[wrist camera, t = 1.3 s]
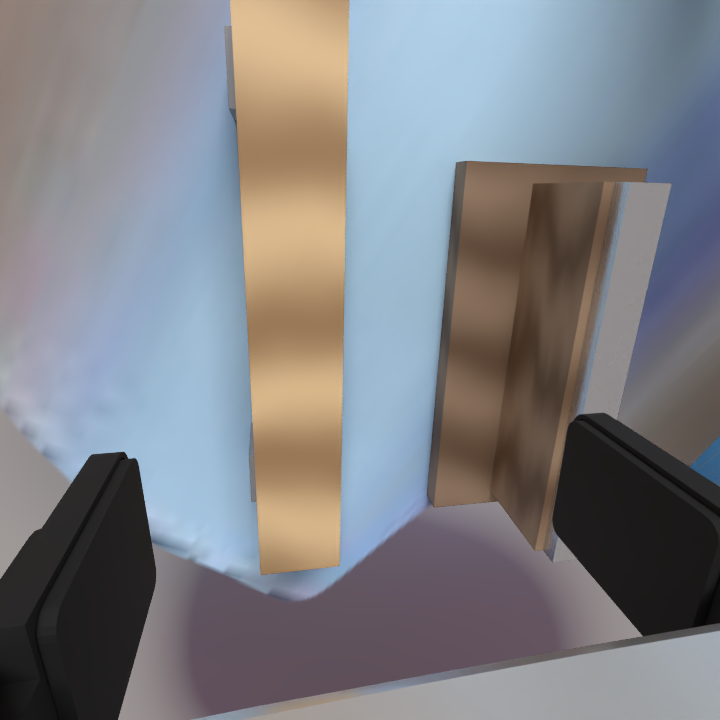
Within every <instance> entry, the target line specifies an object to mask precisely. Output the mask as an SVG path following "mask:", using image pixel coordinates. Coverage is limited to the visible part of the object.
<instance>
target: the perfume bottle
mask: <svg viewBox="0 0 720 720" xmlns="http://www.w3.org/2000/svg"><path fill="white" fill-rule="evenodd" d="M690 468H692V469H693V470H695V471H696V472H698V473H699V474H701V475H702V476H704V477H706V478H707V479H709V480H710V481H712V482H713V483H715V484H716V485H718V486H719V487H720V436H719V437H718V438H717V439H716V440H715V441H714V443H713V444H712V445H711V446H710V447H709V448H708V449H707V450H706V451H705V452H704V453H703V454H702V455H701V456H700V457H699V458H698V459H697V460H696V461H695V462H694V463H693V464H692V465H691V466H690Z"/></svg>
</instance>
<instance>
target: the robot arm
mask: <svg viewBox="0 0 720 720" xmlns="http://www.w3.org/2000/svg"><path fill="white" fill-rule="evenodd" d="M552 523H553V528H554V531H555V533H556V534H557V536H558V537H559V538H560V539H561V541H562V542H563V543H564V544H565V545H566V546H567V548H568V549H569V550H570V551H571V552H572V553H573V555H574V556H575V557H576V558H577V559H578V560H579V562H580V563H581V564H582V565H583V566H584V567H585V569H586V570H587V571H588V572H589V573H590V574H591V576H592V577H593V578H594V579H595V580H596V582H597V583H598V584H599V585H600V586H601V587H602V589H603V590H604V591H605V592H606V593H607V594H608V596H609V597H610V598H611V599H612V600H613V602H614V603H615V604H616V605H617V606H618V607H619V608H620V610H621V611H622V612H623V613H624V614H625V616H626V617H627V618H628V619H629V620H630V621H631V623H632V624H633V625H634V626H635V627H636V628H637V630H638V631H639V632H640V633H641V634H642V635H643V637H637V638H631V639H625V640H619V641H613V642H608V643H602V644H596V645H591V646H585V647H580V648H574V649H568V650H562V651H557V652H551V653H546V654H540V655H534V656H529V657H523V658H518V659H512V660H507V661H501V662H495V663H490V664H484V665H479V666H473V667H468V668H463V669H456V670H451V671H445V672H440V673H434V674H429V675H424V676H418V677H412V678H407V679H402V680H397V681H391V682H386V683H381V684H375V685H370V686H364V687H359V688H353V689H348V690H342V691H338V692H332V693H326V694H321V695H316V696H311V697H305V698H300V699H295V700H289V701H284V702H278V703H272V704H267V705H262V706H256V707H251V708H247V709H242V710H237V711H232V712H227V713H222V714H217V715H212V716H207V717H202V718H197V719H192V720H720V487H719V486H718V485H716V484H715V483H713V482H712V481H710V480H709V479H707V478H706V477H704V476H702V475H701V474H699V473H698V472H696V471H695V470H693V469H692V468H690V467H688V466H687V465H685V464H684V463H682V462H681V461H679V460H678V459H676V458H675V457H673V456H671V455H670V454H668V453H667V452H665V451H664V450H662V449H661V448H659V447H658V446H656V445H654V444H653V443H651V442H650V441H648V440H647V439H645V438H644V437H642V436H641V435H639V434H637V433H636V432H634V431H633V430H631V429H630V428H628V427H627V426H625V425H623V424H622V423H620V422H619V421H617V420H616V419H614V418H613V417H611V416H610V415H608V414H606V413H591V414H579V415H578V416H576V418H575V419H574V421H572V422H571V423H570V424H569V426H568V429H567V435H566V441H565V447H564V453H563V458H562V464H561V470H560V476H559V482H558V488H557V494H556V499H555V505H554V511H553V517H552ZM155 582H156V567H155V560H154V555H153V549H152V542H151V537H150V531H149V525H148V519H147V513H146V507H145V501H144V495H143V489H142V483H141V477H140V471H139V465H138V462H137V460H136V459H135V458H133V459H128V457H127V455H126V453H125V452H116V453H104V454H93V455H91V456H90V457H89V458H88V460H87V461H86V463H85V464H84V466H83V467H82V469H81V470H80V472H79V473H78V475H77V476H76V478H75V479H74V481H73V482H72V484H71V485H70V487H69V488H68V490H67V491H66V493H65V494H64V496H63V497H62V499H61V500H60V502H59V503H58V505H57V507H56V508H55V509H54V511H53V512H52V514H51V515H50V517H49V518H48V520H47V521H46V523H45V524H44V526H43V527H42V529H39V530H36V531H34V533H33V534H32V535H31V536H30V537H29V538H28V540H27V541H26V543H25V544H24V546H23V547H22V549H21V550H20V551H19V553H18V555H17V556H16V557H15V559H14V560H13V562H12V563H11V565H10V566H9V567H8V569H7V570H6V572H5V573H4V575H3V576H2V578H1V579H0V720H118V717H119V714H120V710H121V706H122V703H123V699H124V696H125V692H126V688H127V685H128V682H129V678H130V674H131V671H132V667H133V664H134V660H135V657H136V653H137V649H138V645H139V642H140V639H141V635H142V632H143V628H144V624H145V621H146V617H147V614H148V610H149V606H150V603H151V599H152V596H153V592H154V588H155Z"/></svg>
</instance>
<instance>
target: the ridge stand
mask: <svg viewBox="0 0 720 720" xmlns="http://www.w3.org/2000/svg"><path fill="white" fill-rule="evenodd" d="M646 174H647V169H639V168H616V167H593V166H570V165H547V164H524V163H501V162H478V161H464V162H457V164H456V175H455V186H454V197H453V209H452V220H451V231H450V242H449V254H448V265H447V276H446V287H445V299H444V310H443V321H442V332H441V344H440V355H439V366H438V377H437V389H436V400H435V411H434V422H433V434H432V445H431V456H430V467H429V479H428V490H427V495H428V497H429V499H430V501H431V503H432V505H433V507H443V506H454V505H463V504H475V503H485V502H495V501H498V502H499V503H500V504H501V506H502V507H503V508H504V510H505V511H506V512H507V514H508V515H509V516H510V518H511V519H512V521H513V522H514V523H515V525H516V526H517V527H518V529H519V530H520V531H521V533H522V534H523V535H524V537H525V538H526V539H527V541H528V542H529V544H530V545H531V546H532V548H533V549H534V550H535V551H540V550H543V551H544V552H545V553H546V555H547V556H548V557H549V559H550V560H551V561H552V562H553V563H554V562H562V561H570V560H578V559H577V558H576V557H575V556H574V555H573V553H572V552H571V551H570V550H569V549H568V548H567V546H566V545H565V544H564V543H563V542H562V541H561V539H560V538H559V537H558V536H557V534H556V533H555V531H554V528H553V523H552V517H553V511H554V505H555V499H556V494H557V488H558V482H559V476H560V470H561V464H562V458H563V453H564V447H565V441H566V435H567V429H568V426H569V424H570V423H571V422H572V421H574V419H575V418H576V416H578V415H579V414H591V413H606V414H608V415H610V416H611V417H613V418H614V419H616V420H617V417H618V413H619V408H620V404H621V400H622V395H623V391H624V387H625V383H626V378H627V374H628V370H629V365H630V361H631V357H632V352H633V348H634V344H635V340H636V335H637V331H638V327H639V322H640V318H641V314H642V309H643V305H644V301H645V296H646V292H647V288H648V284H649V279H650V275H651V271H652V266H653V262H654V258H655V253H656V249H657V245H658V241H659V236H660V232H661V228H662V223H663V219H664V215H665V210H666V206H667V202H668V197H669V193H670V189H671V185H672V184H671V183H645V179H646Z"/></svg>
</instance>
